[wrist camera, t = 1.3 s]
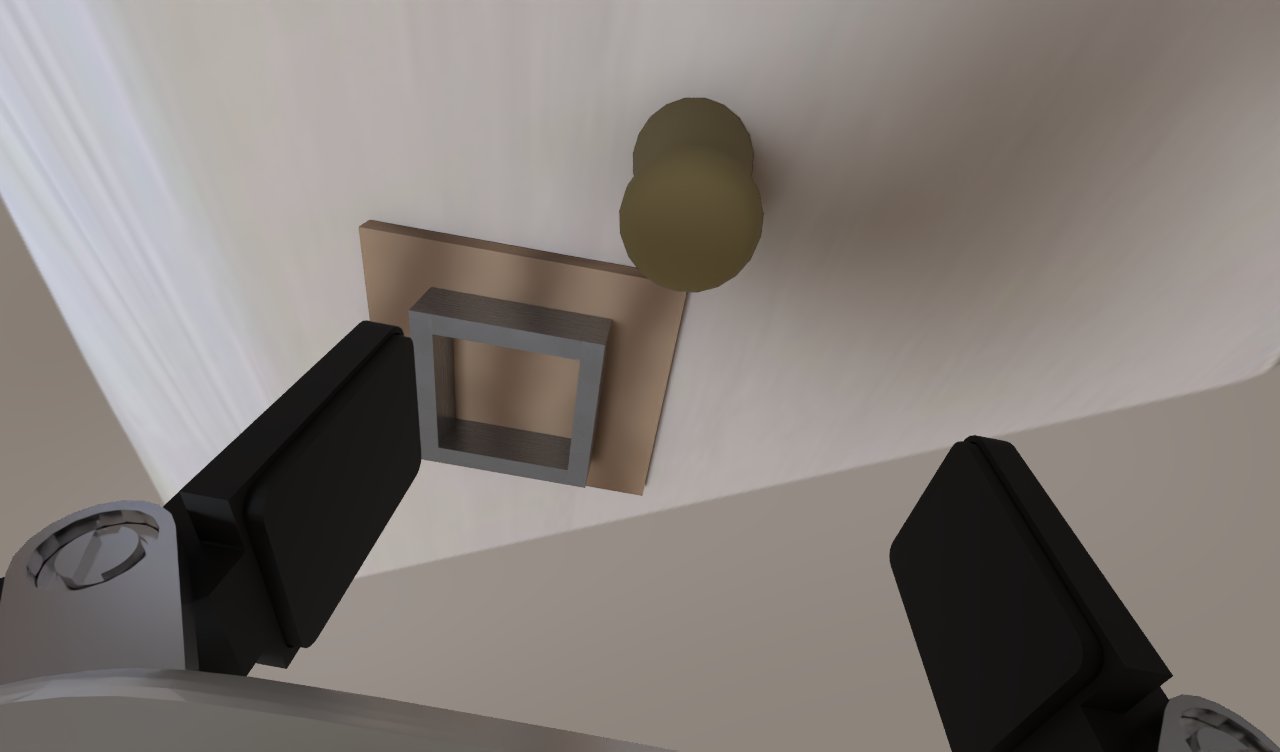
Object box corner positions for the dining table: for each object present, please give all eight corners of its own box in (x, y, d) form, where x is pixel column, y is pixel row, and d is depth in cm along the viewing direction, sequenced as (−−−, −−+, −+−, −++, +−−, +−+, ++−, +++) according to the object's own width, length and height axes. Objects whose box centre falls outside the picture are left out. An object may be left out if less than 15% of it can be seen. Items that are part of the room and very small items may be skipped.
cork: (737, 232, 30) (754, 329, 21) (625, 212, 30) (593, 301, 21) (768, 109, 27) (804, 161, 18) (642, 86, 27) (613, 127, 18)
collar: (612, 319, 32) (605, 345, 30) (592, 456, 38) (585, 487, 35) (430, 286, 32) (408, 310, 30) (438, 429, 38) (420, 458, 35)
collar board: (688, 277, 32) (688, 286, 31) (643, 483, 41) (642, 495, 40) (369, 219, 32) (358, 226, 31) (393, 439, 40) (385, 450, 39)
